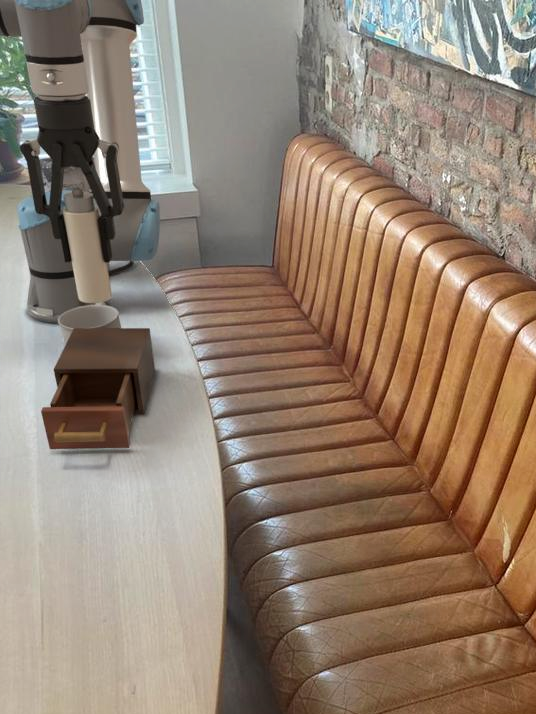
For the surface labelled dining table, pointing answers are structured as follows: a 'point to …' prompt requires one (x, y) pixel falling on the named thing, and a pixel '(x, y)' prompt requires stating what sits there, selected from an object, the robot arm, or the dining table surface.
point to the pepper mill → (86, 247)
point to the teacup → (88, 318)
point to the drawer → (91, 411)
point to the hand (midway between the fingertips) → (88, 259)
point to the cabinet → (111, 356)
